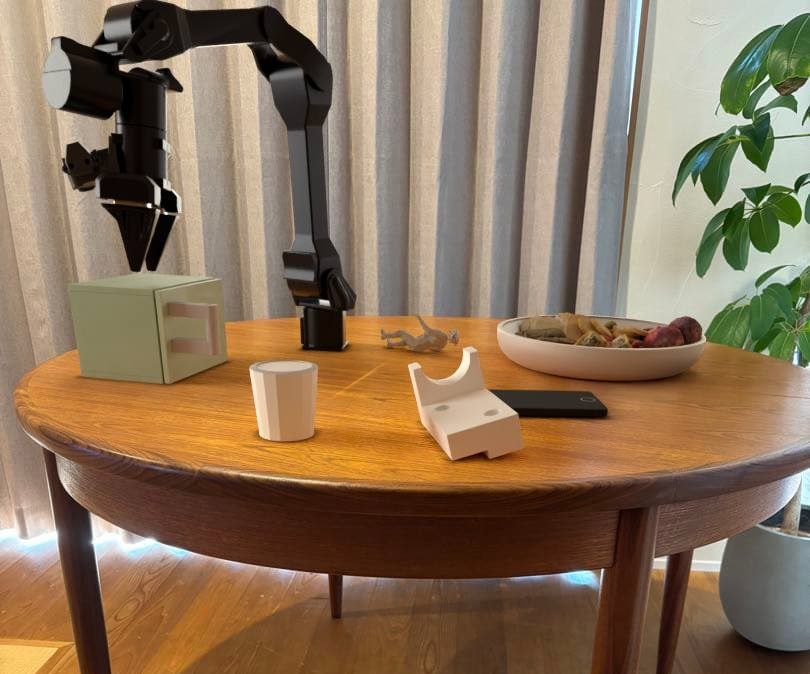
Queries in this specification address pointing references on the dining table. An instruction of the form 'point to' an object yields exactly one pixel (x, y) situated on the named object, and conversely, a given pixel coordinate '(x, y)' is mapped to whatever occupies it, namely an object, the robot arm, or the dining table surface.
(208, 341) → the cupboard door
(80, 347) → the cupboard
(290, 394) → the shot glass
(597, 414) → the cell phone
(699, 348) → the bowl
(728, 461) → the dining table surface
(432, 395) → the bracket
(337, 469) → the dining table surface
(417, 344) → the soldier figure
